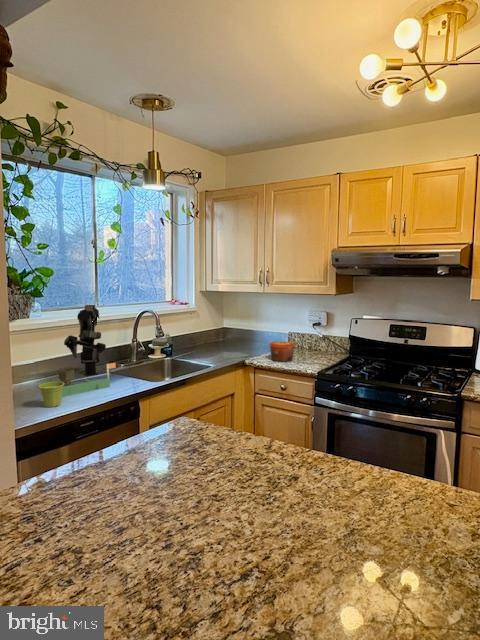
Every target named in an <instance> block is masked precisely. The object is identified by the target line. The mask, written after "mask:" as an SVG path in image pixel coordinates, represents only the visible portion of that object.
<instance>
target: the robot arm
mask: <svg viewBox="0 0 480 640" xmlns="http://www.w3.org/2000/svg"><path fill="white" fill-rule="evenodd" d="M97 317H98V318H99V319H100V310H99V309H98V308H96V305H95V304H85V305H84V309H82V310H79V312H78V313H77V321H78V325H79V334H78V336H75V335H72V334H70V335H68V336H67V337H66V338H65V340H64V343H63V345H64V346H66V348H68V349H69V350H70V353H72V356H73V358H74V359H76V358H77V357H78V351H77V350H78V348H77V347H78V345H79V346H81V347H82V348H81V352H80V364H82V365H83V366H84V372H82V373H81V374H83V375H85V376H94V375H98V374H100V373H99V372H98V371H97V364H98V363H100V361H101V360H100V354H102V353H103V352H104V351H105V350H106V349H107V345H106V344H105V343H102V342H99V341H98V342H97V343H96V344H95V340H100V339H101V338H102V332H100V331H95V328H96V326H97V325H98V324H97ZM92 321H93V322H92ZM78 338H79V339H78Z"/></svg>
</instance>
